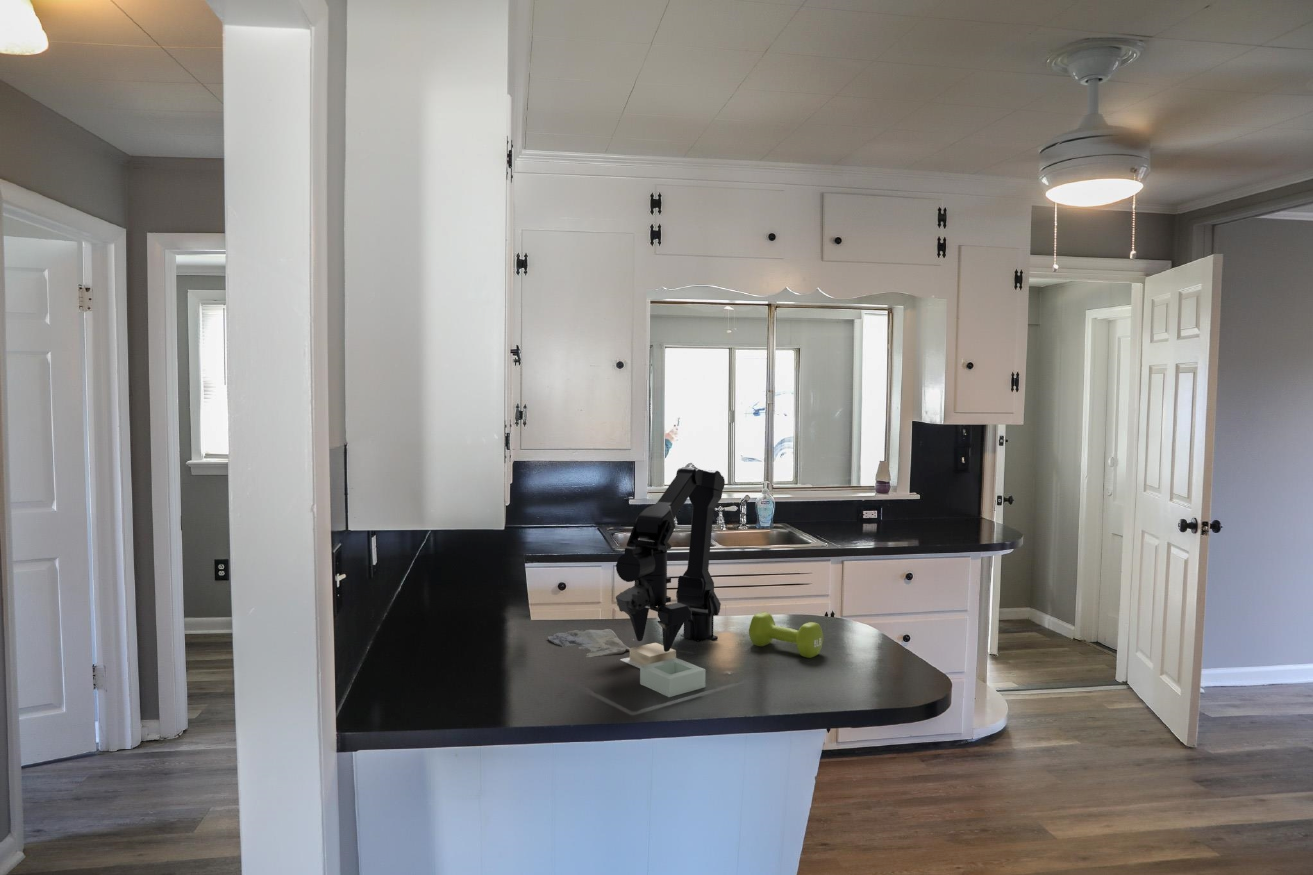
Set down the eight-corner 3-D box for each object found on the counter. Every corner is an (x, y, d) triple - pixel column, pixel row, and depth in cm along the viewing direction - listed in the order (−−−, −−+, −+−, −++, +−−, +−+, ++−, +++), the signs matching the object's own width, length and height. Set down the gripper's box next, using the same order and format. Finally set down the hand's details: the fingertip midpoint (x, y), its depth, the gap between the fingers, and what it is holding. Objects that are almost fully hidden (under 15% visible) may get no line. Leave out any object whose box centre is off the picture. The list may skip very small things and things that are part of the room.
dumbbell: (745, 646, 189) (745, 615, 189) (764, 639, 195) (765, 608, 195) (808, 662, 178) (808, 629, 178) (826, 653, 184) (827, 621, 184)
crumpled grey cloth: (633, 657, 182) (633, 647, 182) (565, 665, 177) (565, 654, 177) (610, 635, 199) (610, 625, 199) (547, 641, 194) (547, 631, 193)
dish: (675, 677, 168) (675, 657, 168) (705, 689, 161) (705, 669, 160) (640, 686, 162) (640, 666, 162) (669, 700, 155) (669, 678, 155)
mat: (656, 653, 183) (656, 650, 183) (685, 665, 175) (685, 662, 175) (619, 662, 177) (619, 659, 177) (648, 674, 169) (648, 671, 169)
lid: (655, 653, 181) (655, 642, 181) (675, 662, 176) (676, 650, 175) (629, 659, 177) (629, 648, 177) (649, 668, 171) (649, 656, 171)
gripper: (596, 570, 178) (596, 642, 178) (650, 586, 163) (649, 664, 164) (638, 564, 184) (638, 633, 185) (693, 578, 170) (692, 654, 171)
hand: (652, 645), depth 176 cm, fingers open, 9 cm apart
